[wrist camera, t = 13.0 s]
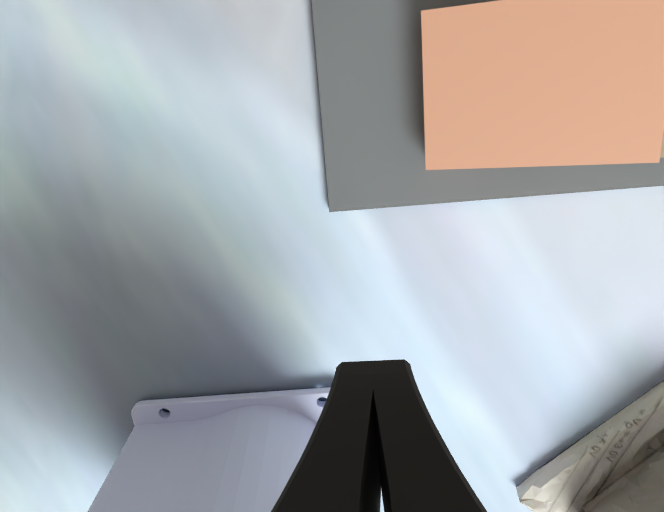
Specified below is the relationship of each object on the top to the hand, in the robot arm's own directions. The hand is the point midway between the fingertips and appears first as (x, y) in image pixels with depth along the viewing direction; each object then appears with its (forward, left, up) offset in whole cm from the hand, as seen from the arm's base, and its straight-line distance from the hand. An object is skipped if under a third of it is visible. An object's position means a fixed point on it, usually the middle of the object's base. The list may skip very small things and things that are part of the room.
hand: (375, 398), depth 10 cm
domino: (+3, +5, -10) cm, 11 cm away
